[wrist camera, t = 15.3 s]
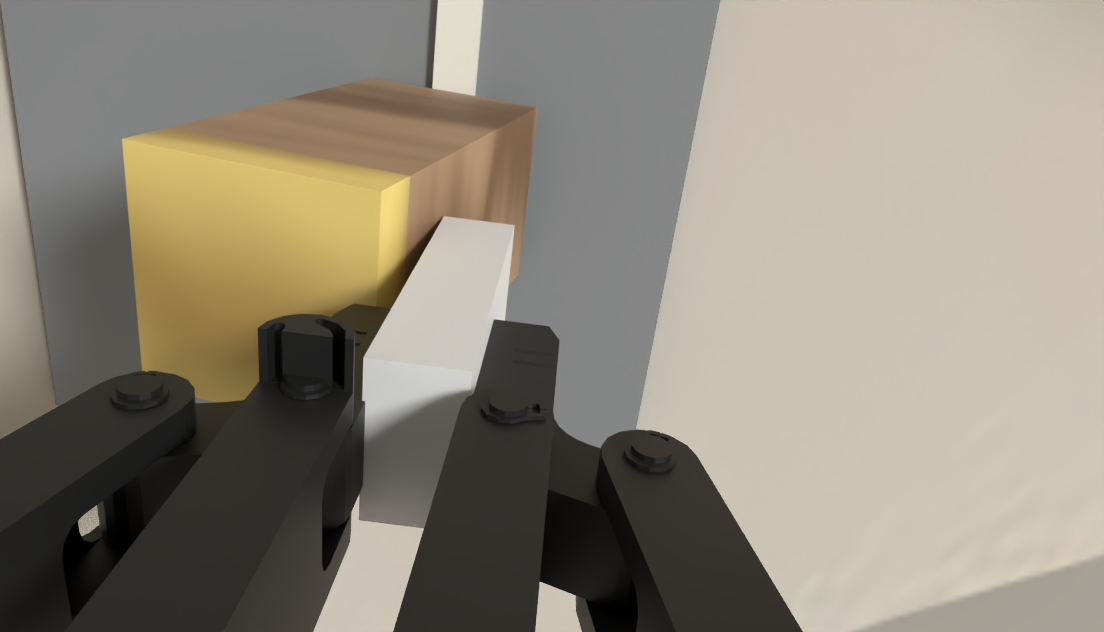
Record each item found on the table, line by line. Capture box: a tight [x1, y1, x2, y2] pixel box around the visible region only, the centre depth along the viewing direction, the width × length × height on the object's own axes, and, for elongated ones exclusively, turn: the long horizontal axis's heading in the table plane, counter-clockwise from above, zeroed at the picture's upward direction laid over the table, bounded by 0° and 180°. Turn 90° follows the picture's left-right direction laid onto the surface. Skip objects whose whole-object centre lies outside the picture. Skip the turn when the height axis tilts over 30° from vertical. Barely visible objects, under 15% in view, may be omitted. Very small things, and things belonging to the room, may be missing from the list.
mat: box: [0, 0, 720, 448], centre depth 25 cm, size 20×20×1 cm
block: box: [122, 78, 538, 402], centre depth 20 cm, size 5×5×10 cm
